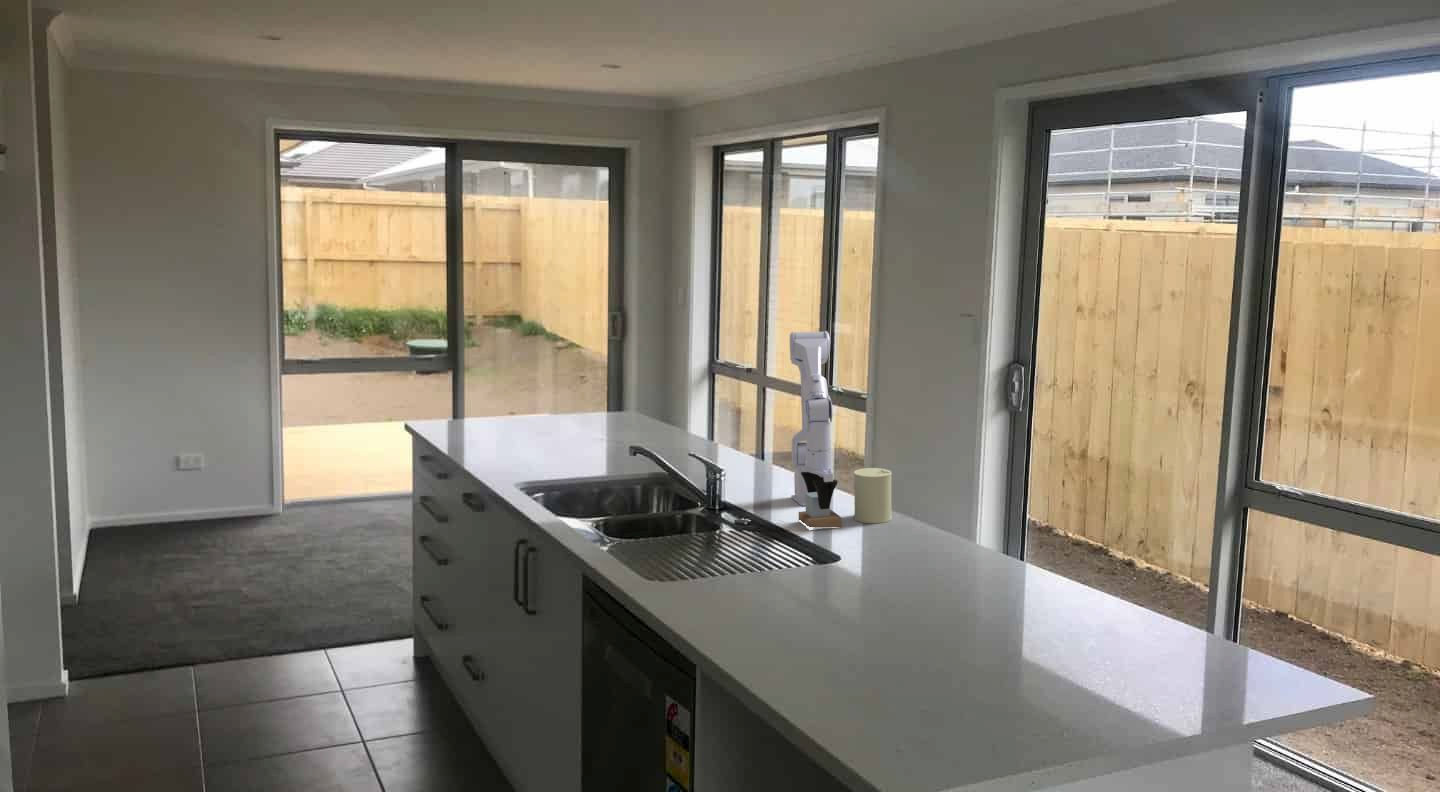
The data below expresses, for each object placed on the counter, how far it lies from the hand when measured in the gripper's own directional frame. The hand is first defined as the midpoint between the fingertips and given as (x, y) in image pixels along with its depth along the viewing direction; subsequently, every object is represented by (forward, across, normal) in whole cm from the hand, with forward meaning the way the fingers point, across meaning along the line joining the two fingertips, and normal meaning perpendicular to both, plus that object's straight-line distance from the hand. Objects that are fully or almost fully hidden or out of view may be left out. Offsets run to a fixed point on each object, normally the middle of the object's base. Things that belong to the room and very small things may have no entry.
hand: (819, 504), depth 272 cm
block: (+2, 0, 0) cm, 2 cm away
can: (+5, -1, +14) cm, 15 cm away
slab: (+5, 0, 0) cm, 5 cm away
